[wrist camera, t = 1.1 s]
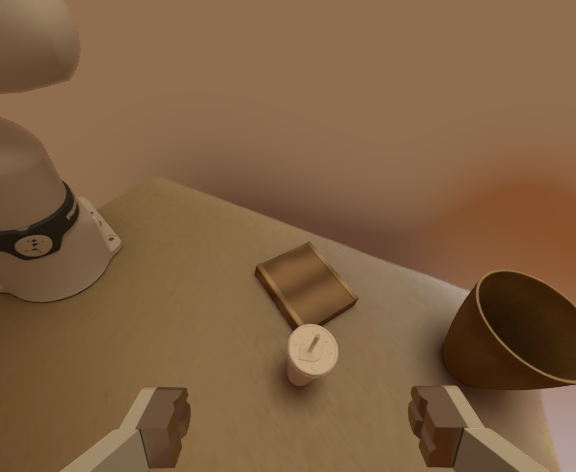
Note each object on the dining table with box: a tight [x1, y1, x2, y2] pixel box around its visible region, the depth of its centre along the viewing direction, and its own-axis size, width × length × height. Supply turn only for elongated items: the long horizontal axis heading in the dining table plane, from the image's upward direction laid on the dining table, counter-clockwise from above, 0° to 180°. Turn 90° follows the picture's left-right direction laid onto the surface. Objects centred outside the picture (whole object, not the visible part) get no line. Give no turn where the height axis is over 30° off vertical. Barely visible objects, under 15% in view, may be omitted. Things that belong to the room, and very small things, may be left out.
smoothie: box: [287, 324, 338, 386], centre depth 39 cm, size 6×6×14 cm
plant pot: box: [442, 269, 576, 390], centre depth 43 cm, size 15×15×16 cm
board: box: [255, 242, 358, 331], centre depth 52 cm, size 14×12×3 cm
